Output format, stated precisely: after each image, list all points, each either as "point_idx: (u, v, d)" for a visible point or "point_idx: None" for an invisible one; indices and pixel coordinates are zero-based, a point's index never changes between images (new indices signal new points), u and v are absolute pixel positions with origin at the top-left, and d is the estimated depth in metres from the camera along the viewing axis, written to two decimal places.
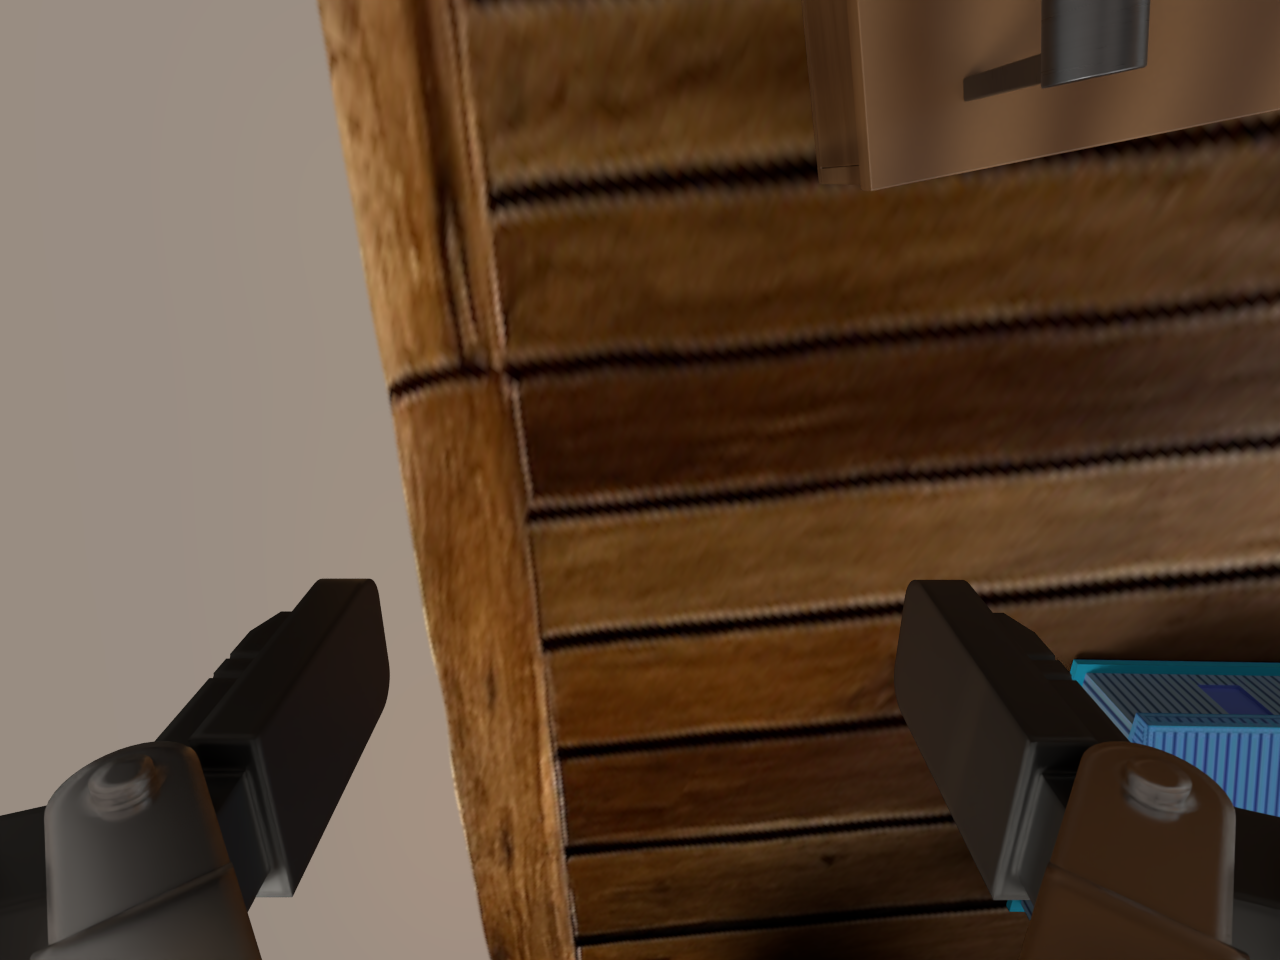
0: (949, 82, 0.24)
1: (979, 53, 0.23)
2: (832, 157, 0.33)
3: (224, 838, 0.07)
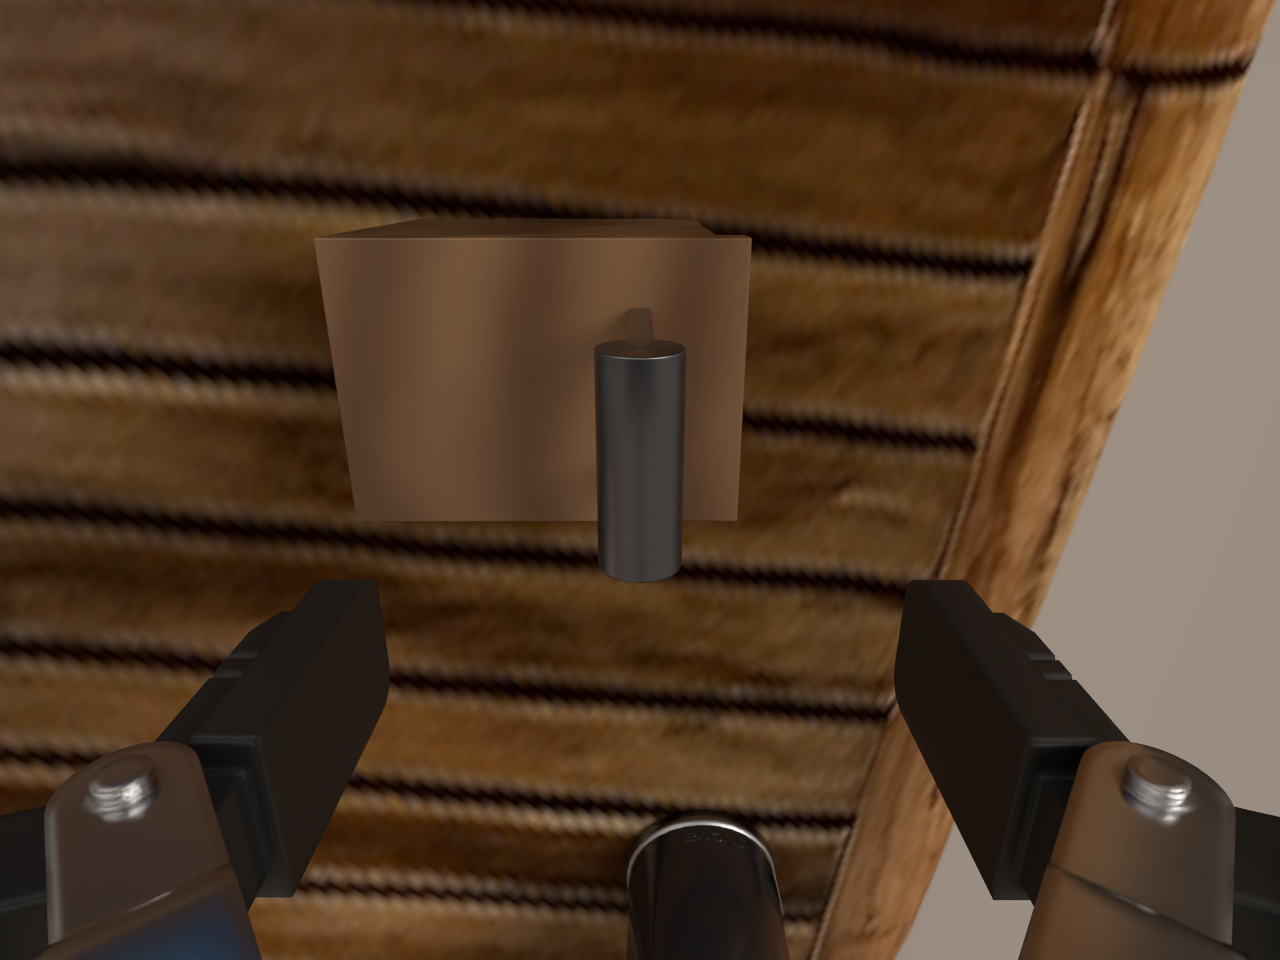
0: (662, 328, 0.24)
1: None
2: None
3: (224, 838, 0.07)
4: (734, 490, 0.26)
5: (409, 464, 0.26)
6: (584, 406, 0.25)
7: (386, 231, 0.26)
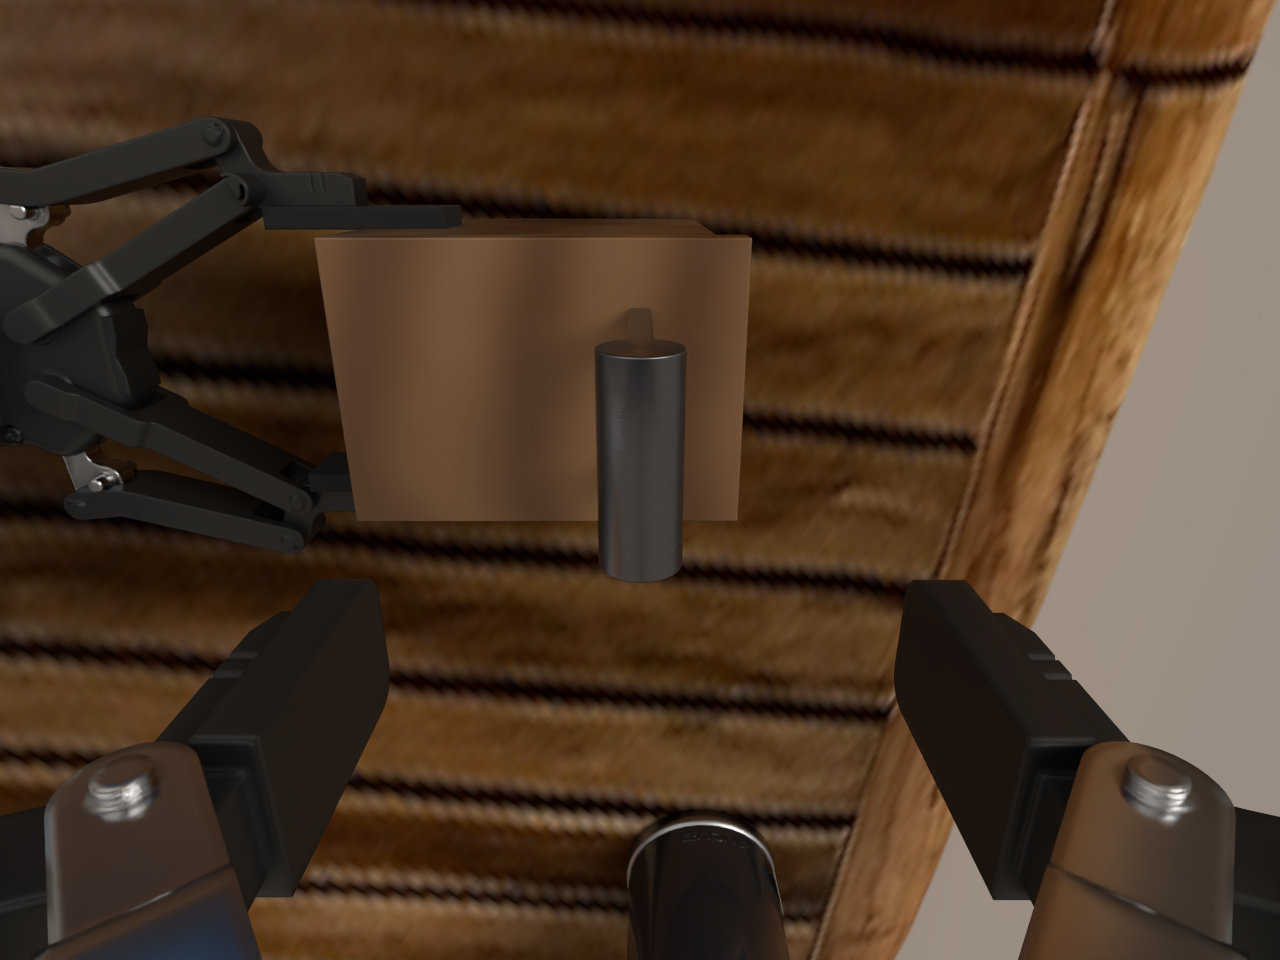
0: (662, 328, 0.24)
1: None
2: None
3: (224, 838, 0.07)
4: (734, 490, 0.26)
5: (409, 464, 0.26)
6: (584, 406, 0.25)
7: (386, 231, 0.26)
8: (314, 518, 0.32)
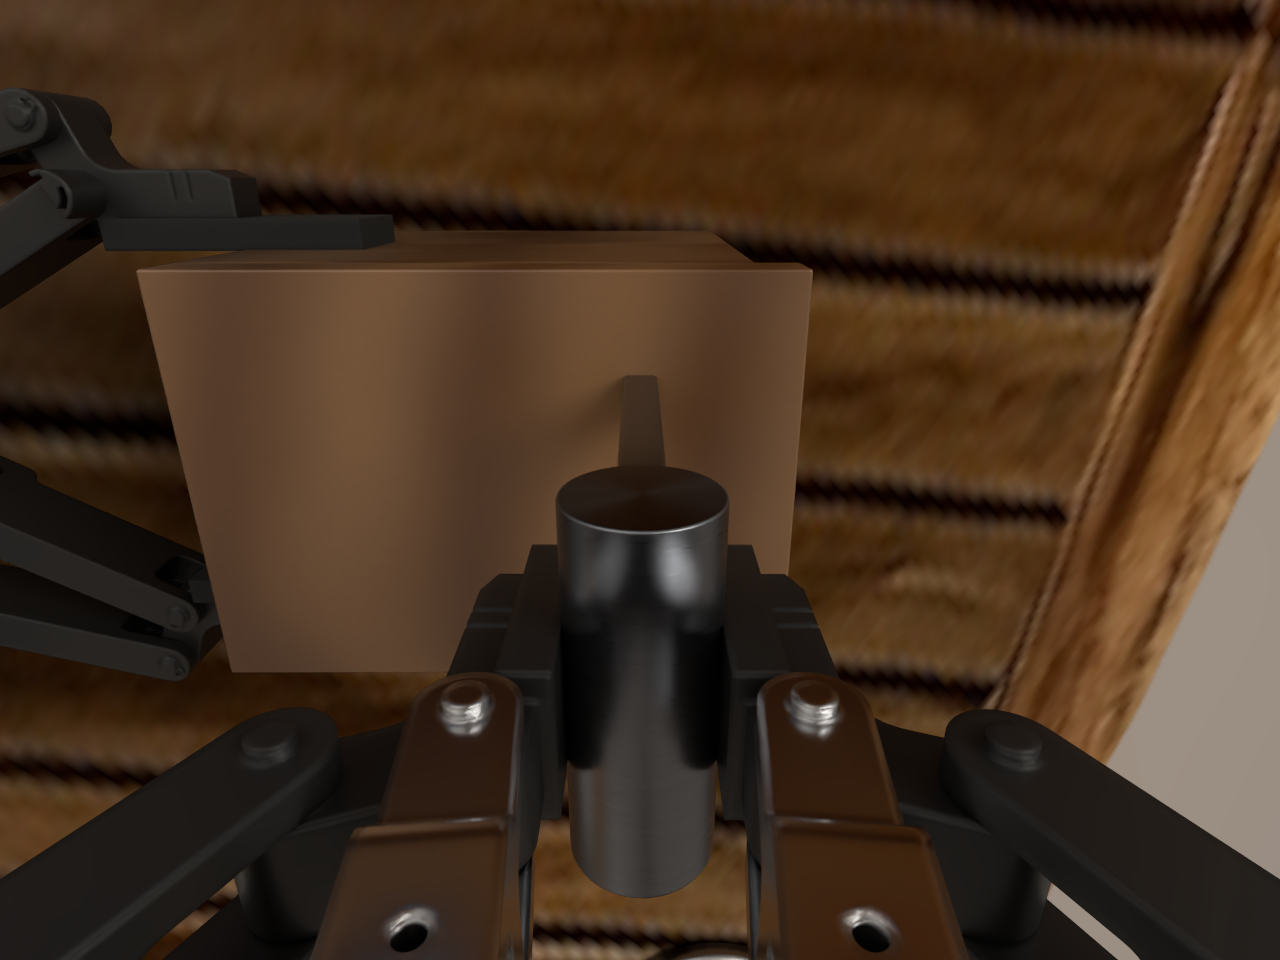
0: (675, 403, 0.16)
1: None
2: None
3: (534, 758, 0.08)
4: None
5: (303, 596, 0.18)
6: None
7: (270, 255, 0.18)
8: (204, 632, 0.24)
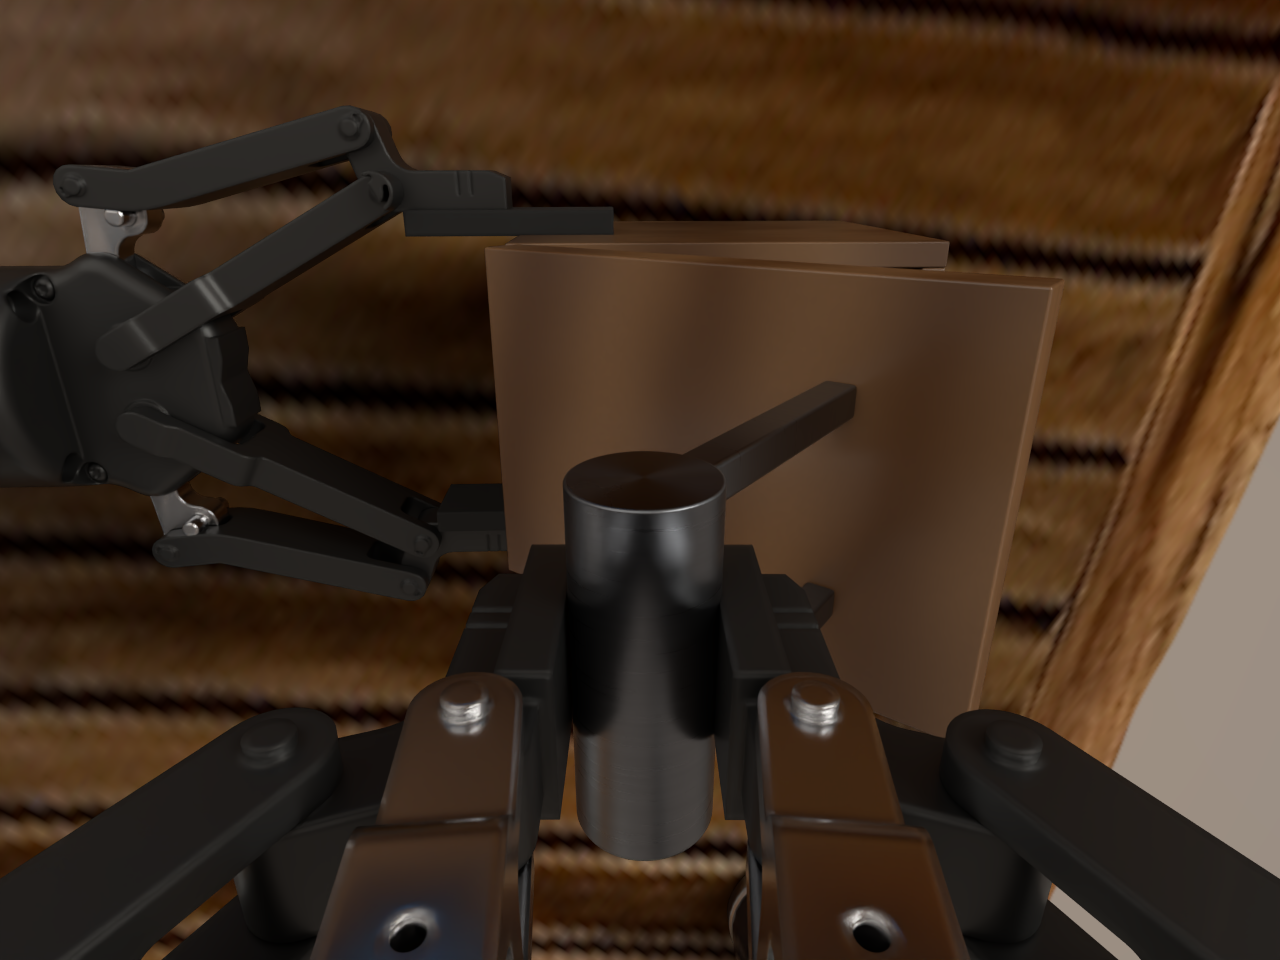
0: (873, 418, 0.15)
1: (826, 441, 0.16)
2: None
3: (534, 758, 0.08)
4: (964, 699, 0.16)
5: (556, 523, 0.21)
6: (751, 508, 0.17)
7: (556, 238, 0.22)
8: (436, 560, 0.29)
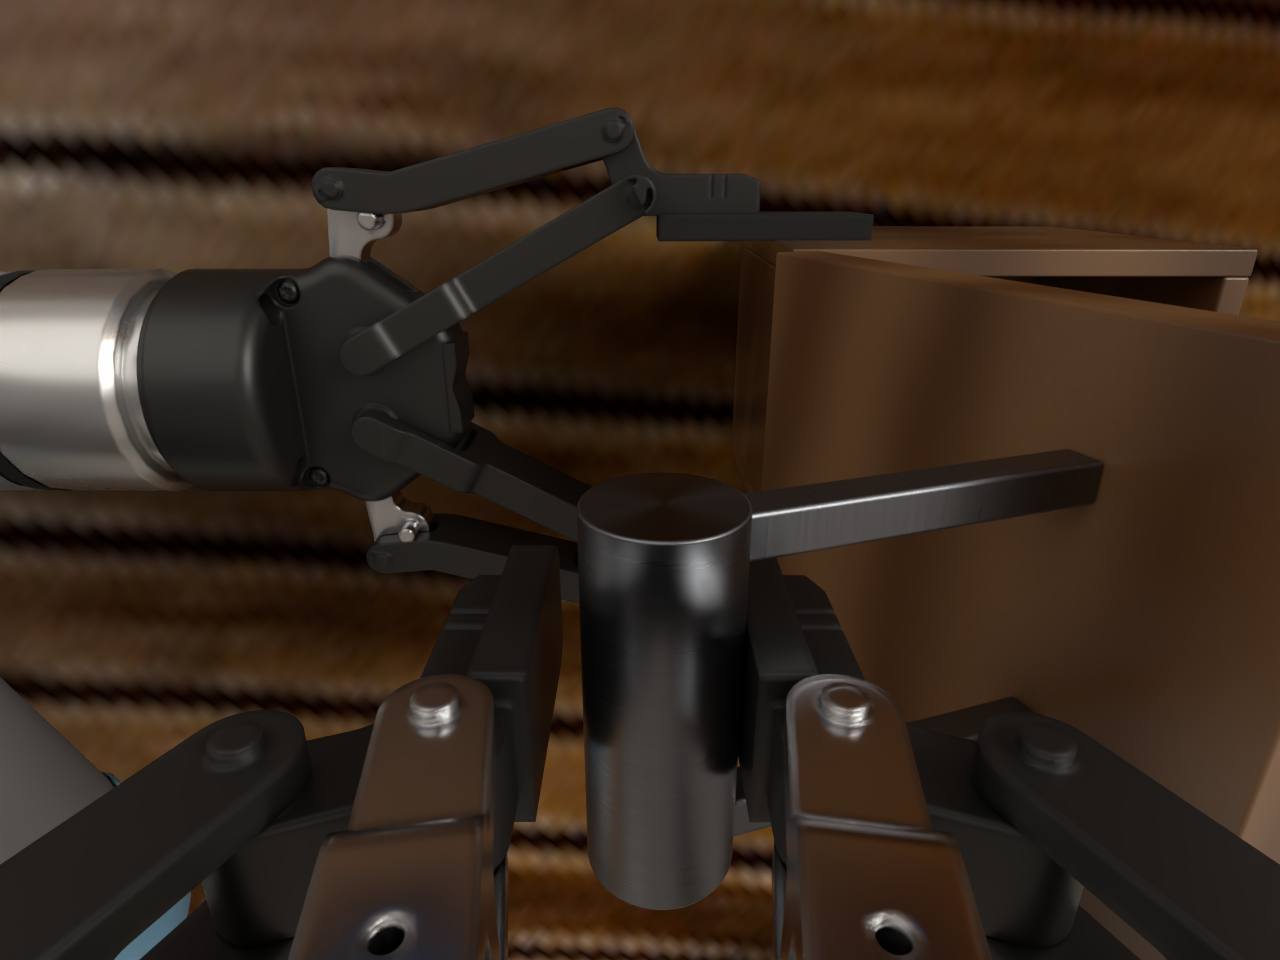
0: (1121, 511, 0.11)
1: (1058, 526, 0.12)
2: None
3: (506, 760, 0.08)
4: None
5: None
6: (967, 585, 0.14)
7: (826, 244, 0.22)
8: None
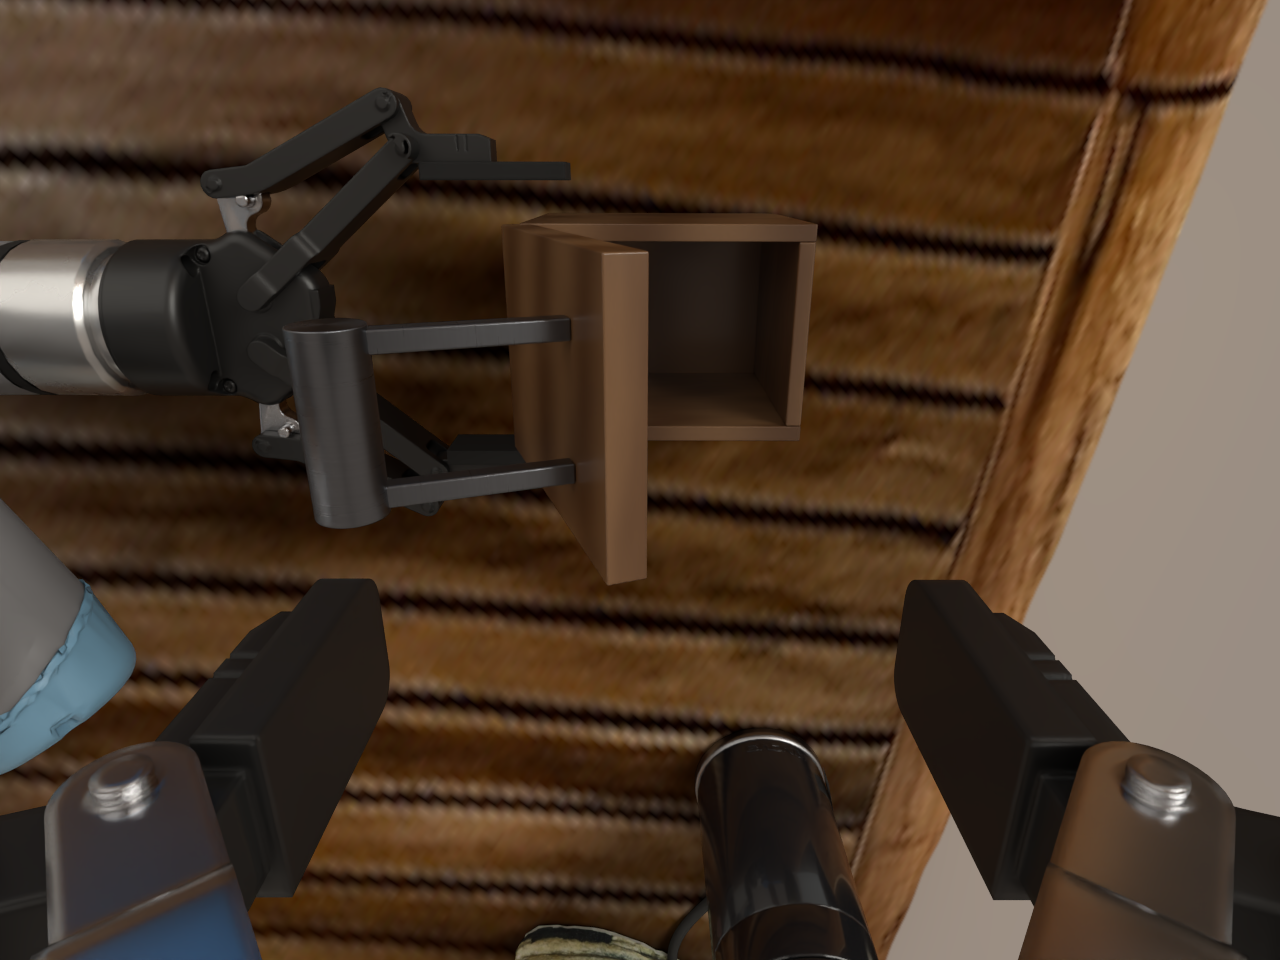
0: (575, 341, 0.22)
1: (567, 357, 0.23)
2: None
3: (224, 838, 0.07)
4: (605, 548, 0.22)
5: (522, 413, 0.31)
6: (556, 404, 0.25)
7: (554, 221, 0.33)
8: None
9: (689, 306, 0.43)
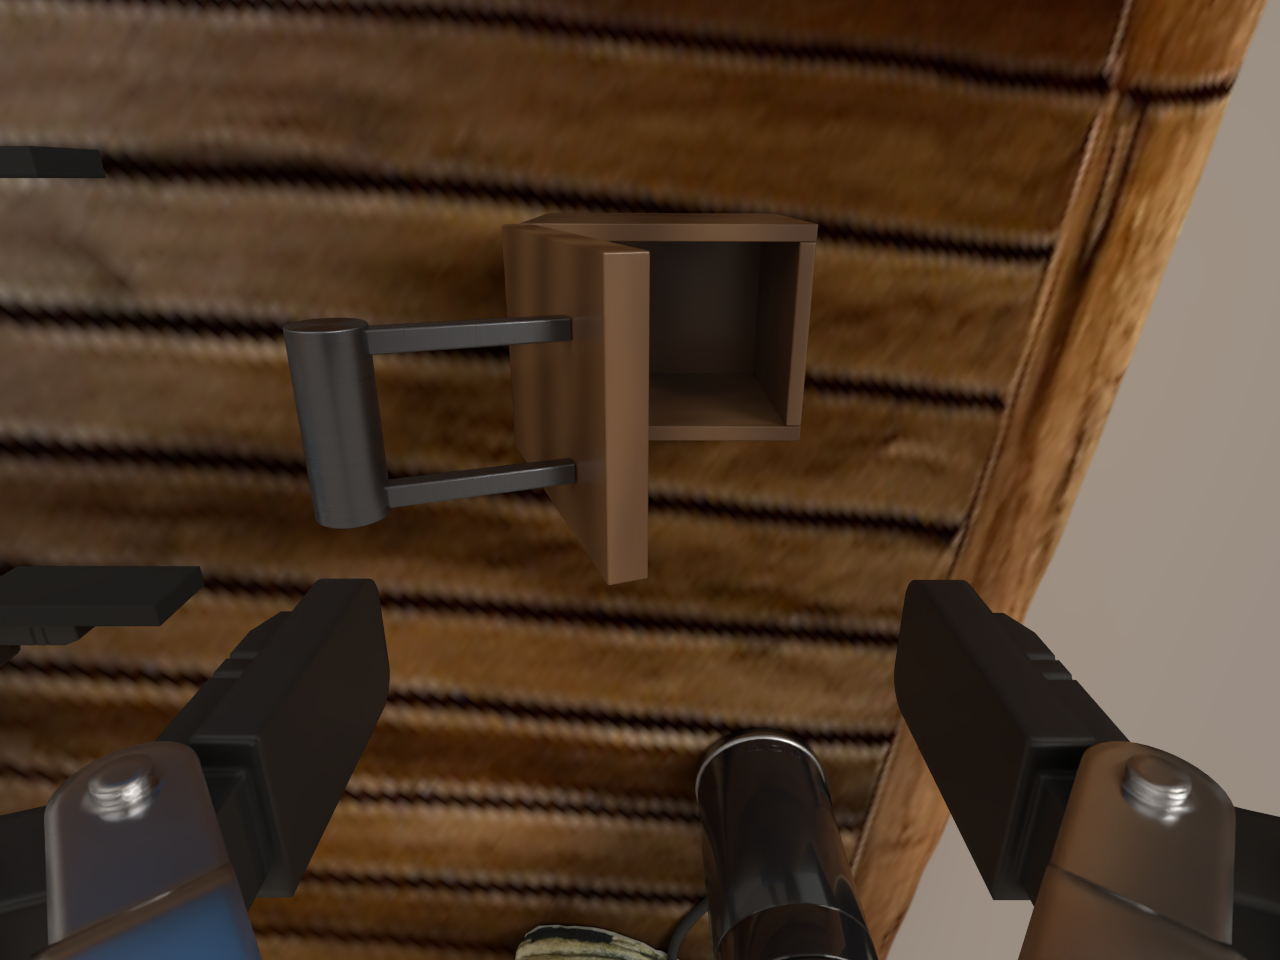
0: (576, 341, 0.22)
1: (568, 357, 0.23)
2: None
3: (224, 838, 0.07)
4: (606, 548, 0.22)
5: (522, 413, 0.31)
6: (557, 404, 0.25)
7: (555, 221, 0.33)
8: None
9: (689, 306, 0.43)
